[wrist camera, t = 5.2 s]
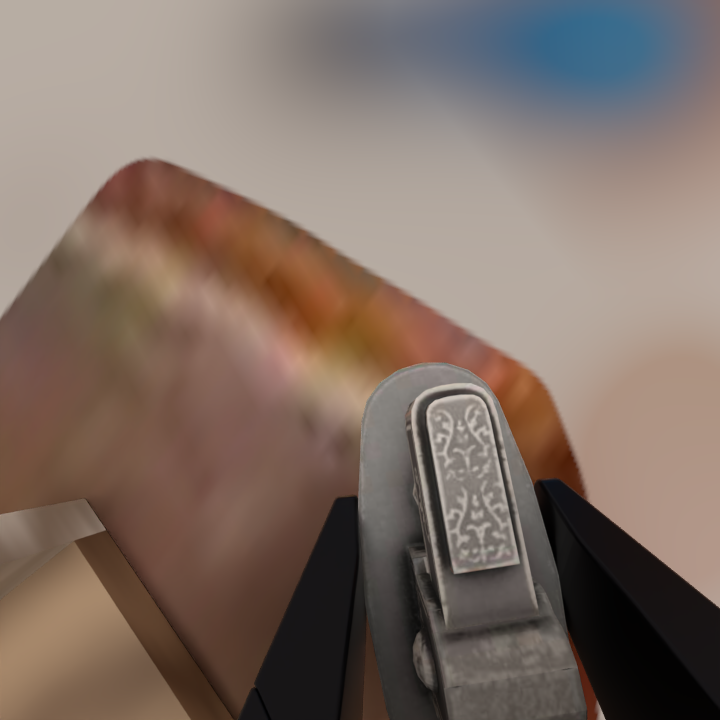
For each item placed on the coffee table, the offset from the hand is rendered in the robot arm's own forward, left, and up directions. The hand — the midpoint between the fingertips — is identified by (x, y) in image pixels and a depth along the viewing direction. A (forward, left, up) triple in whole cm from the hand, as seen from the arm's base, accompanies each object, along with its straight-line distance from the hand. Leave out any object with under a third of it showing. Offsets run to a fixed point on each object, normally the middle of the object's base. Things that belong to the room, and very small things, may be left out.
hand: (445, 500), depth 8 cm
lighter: (0, +1, -7) cm, 7 cm away
